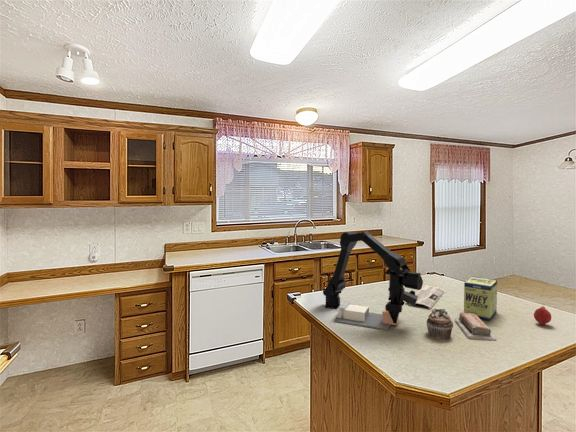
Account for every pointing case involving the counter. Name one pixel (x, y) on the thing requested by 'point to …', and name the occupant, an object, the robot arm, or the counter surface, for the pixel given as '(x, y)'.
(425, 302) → the newspaper
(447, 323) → the cupcake
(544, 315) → the onion
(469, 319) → the packaged product
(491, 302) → the protein box
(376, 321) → the grey flat tray
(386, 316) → the stub
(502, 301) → the counter surface
